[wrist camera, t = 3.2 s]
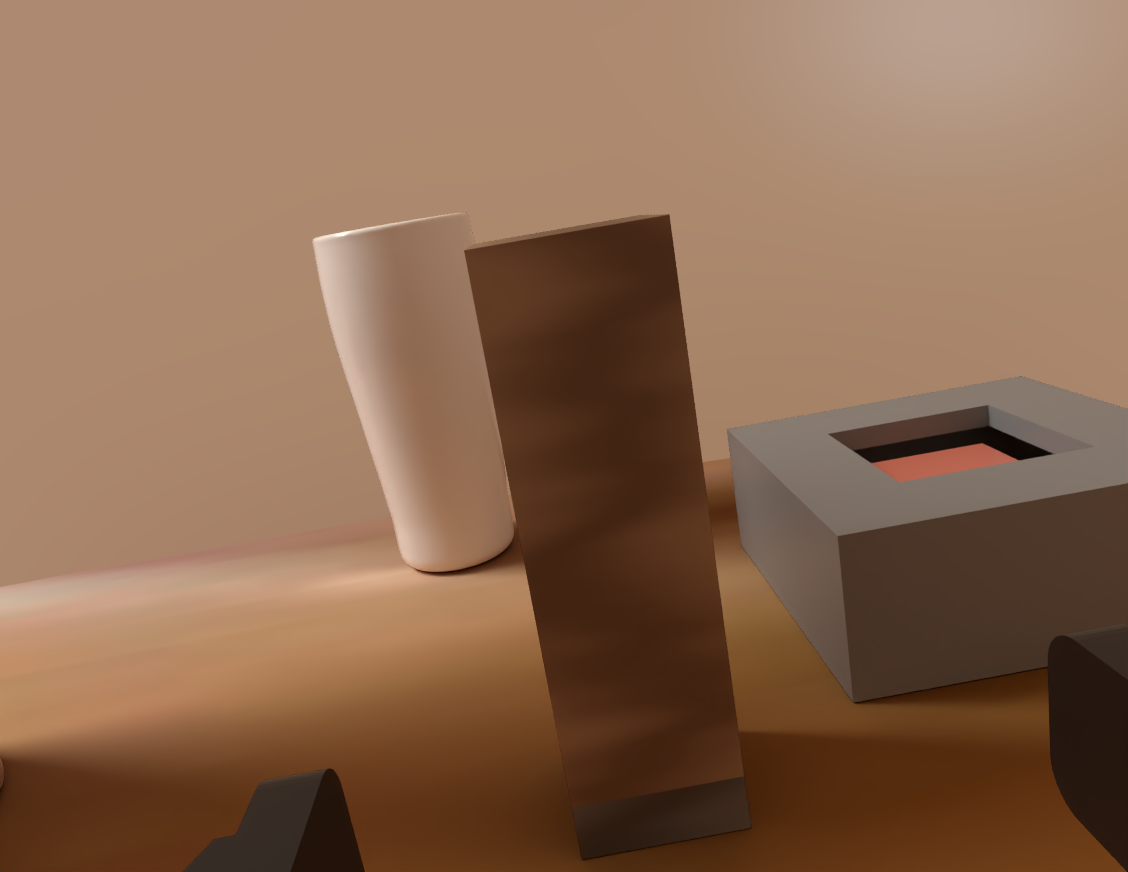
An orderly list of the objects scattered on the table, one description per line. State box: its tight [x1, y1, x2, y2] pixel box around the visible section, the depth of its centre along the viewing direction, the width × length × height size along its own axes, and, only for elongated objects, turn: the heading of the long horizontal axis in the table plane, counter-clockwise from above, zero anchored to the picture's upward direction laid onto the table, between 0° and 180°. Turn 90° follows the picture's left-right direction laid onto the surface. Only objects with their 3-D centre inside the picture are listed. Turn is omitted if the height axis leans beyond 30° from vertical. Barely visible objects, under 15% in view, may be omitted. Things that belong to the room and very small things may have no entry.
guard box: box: [727, 376, 1128, 703], centre depth 29 cm, size 12×12×5 cm
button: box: [871, 443, 1019, 482], centre depth 29 cm, size 5×5×2 cm
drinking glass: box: [312, 212, 514, 572], centre depth 38 cm, size 7×7×15 cm
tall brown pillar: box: [464, 215, 751, 860], centre depth 20 cm, size 4×4×14 cm
